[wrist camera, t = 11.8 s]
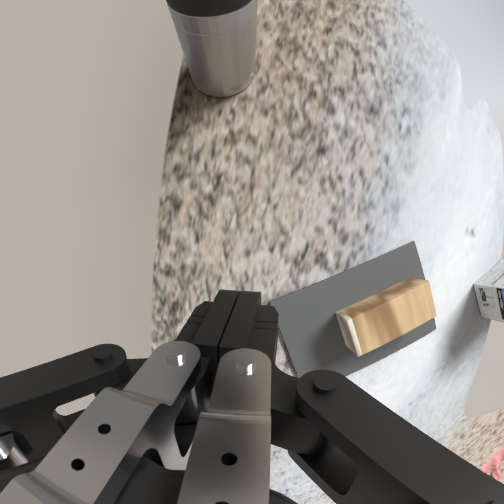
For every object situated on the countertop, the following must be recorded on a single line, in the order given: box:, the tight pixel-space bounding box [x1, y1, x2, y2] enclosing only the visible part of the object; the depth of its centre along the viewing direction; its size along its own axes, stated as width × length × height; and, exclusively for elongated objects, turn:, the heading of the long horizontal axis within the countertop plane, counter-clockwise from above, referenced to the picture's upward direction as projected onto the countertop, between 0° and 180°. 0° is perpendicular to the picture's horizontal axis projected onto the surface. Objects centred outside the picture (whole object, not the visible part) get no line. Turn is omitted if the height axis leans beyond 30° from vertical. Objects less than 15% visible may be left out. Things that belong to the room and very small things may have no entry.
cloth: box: [480, 447, 504, 481], centre depth 39 cm, size 20×22×2 cm
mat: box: [269, 241, 436, 378], centre depth 39 cm, size 22×14×1 cm, turn 111°
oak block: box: [335, 278, 436, 357], centre depth 36 cm, size 5×5×12 cm
